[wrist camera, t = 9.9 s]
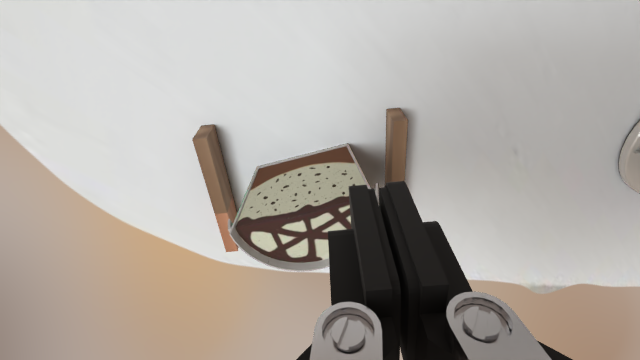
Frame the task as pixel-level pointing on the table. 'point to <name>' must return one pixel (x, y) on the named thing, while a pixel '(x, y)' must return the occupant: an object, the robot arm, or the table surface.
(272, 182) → the food container
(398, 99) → the table surface
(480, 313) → the robot arm
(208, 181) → the lane walls
